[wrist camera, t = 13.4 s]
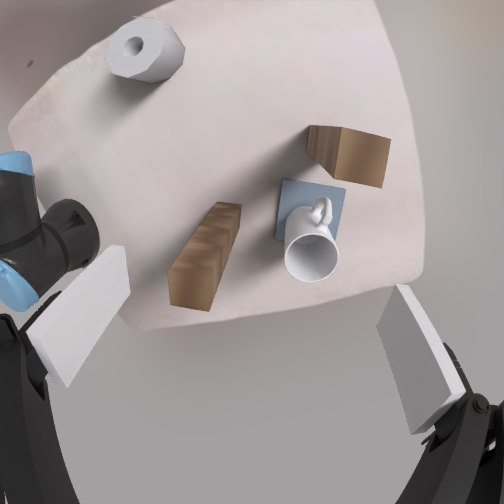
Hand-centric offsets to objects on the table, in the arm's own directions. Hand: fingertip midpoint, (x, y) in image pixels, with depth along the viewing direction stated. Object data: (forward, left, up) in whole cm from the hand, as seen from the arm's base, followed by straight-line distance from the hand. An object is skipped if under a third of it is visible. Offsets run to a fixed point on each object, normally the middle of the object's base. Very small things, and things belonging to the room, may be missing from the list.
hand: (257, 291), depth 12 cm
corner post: (-6, -8, -32) cm, 34 cm away
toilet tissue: (-20, +20, -32) cm, 43 cm away
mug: (+6, -6, -31) cm, 33 cm away
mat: (+7, -6, -32) cm, 33 cm away
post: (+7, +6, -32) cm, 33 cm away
